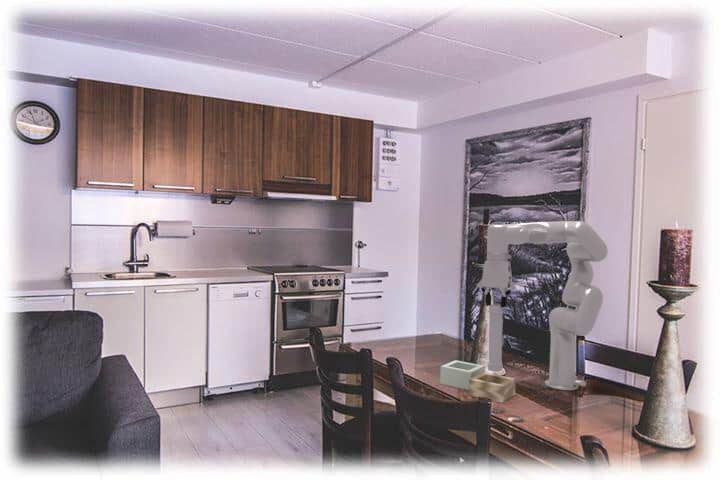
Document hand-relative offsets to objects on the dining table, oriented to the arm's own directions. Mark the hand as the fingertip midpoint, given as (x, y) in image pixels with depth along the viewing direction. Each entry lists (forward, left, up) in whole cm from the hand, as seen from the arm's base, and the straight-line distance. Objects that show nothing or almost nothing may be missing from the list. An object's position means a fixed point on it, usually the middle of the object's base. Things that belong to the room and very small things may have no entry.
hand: (495, 305), depth 198 cm
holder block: (+15, -6, -34) cm, 37 cm away
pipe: (0, 0, -24) cm, 24 cm away
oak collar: (0, 0, -34) cm, 34 cm away
